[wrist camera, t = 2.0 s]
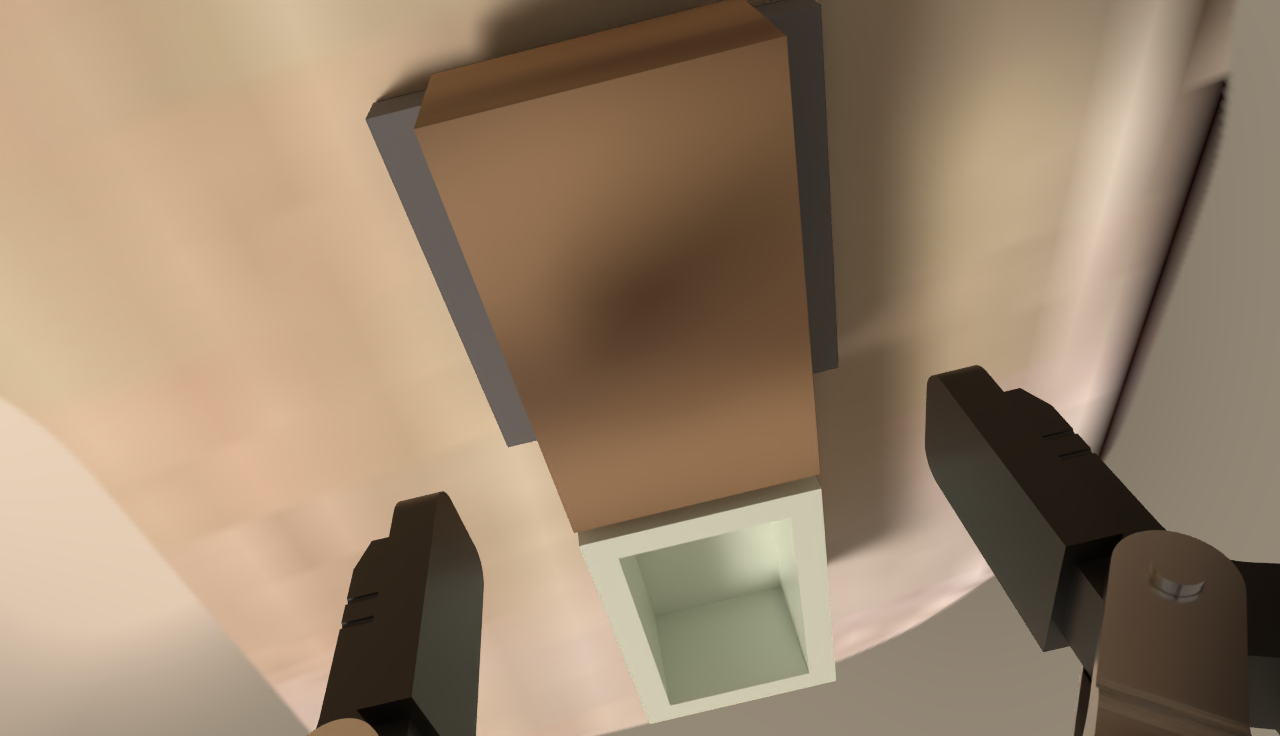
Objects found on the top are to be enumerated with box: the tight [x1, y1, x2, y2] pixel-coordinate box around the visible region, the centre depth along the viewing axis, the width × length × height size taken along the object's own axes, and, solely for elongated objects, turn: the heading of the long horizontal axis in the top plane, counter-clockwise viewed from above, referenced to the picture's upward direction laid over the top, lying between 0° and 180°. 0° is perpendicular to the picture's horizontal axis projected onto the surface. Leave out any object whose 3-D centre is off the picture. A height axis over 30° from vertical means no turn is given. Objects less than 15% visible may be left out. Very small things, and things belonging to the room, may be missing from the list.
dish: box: [578, 475, 836, 724], centre depth 22 cm, size 9×6×4 cm, turn 12°
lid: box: [414, 0, 820, 533], centre depth 16 cm, size 10×6×3 cm, turn 12°
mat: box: [366, 0, 838, 447], centre depth 18 cm, size 9×9×1 cm
